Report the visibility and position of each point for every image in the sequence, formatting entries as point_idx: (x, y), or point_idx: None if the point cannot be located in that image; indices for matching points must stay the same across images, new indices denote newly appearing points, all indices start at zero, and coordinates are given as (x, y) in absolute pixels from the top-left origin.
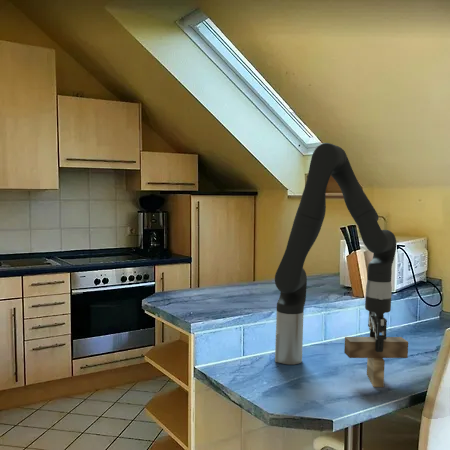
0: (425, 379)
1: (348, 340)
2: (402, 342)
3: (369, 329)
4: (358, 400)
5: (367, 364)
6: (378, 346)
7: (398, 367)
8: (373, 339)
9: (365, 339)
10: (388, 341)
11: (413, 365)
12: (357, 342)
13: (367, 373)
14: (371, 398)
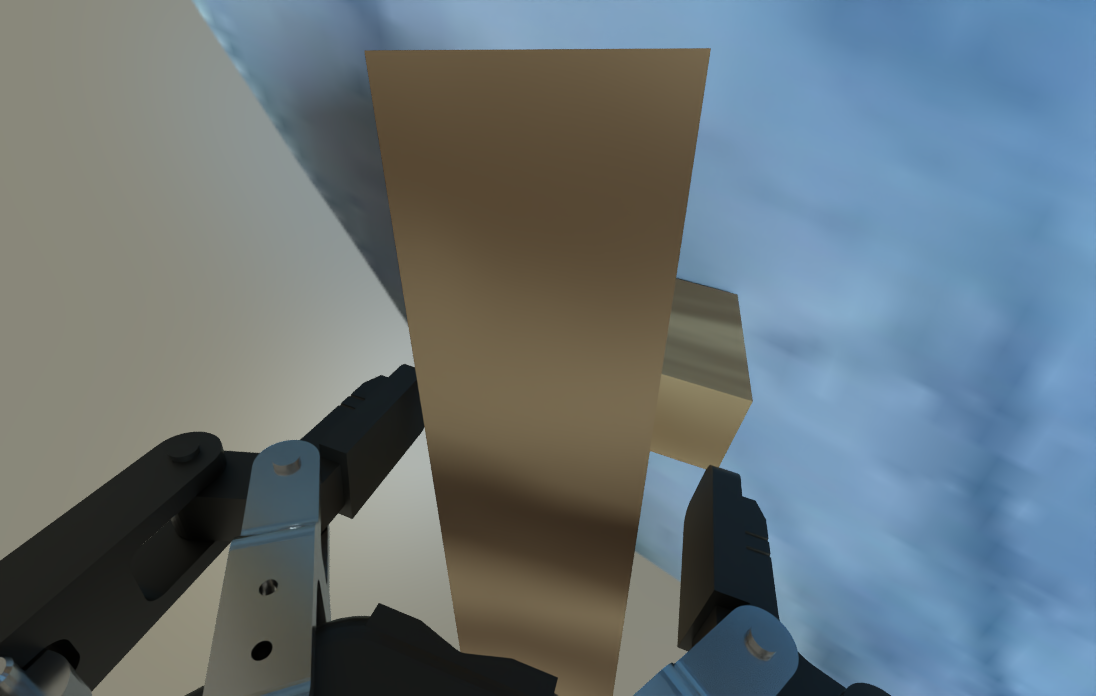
0: None
1: (462, 50)
2: (460, 636)
3: (756, 624)
4: (320, 43)
5: (729, 327)
6: (344, 406)
7: (821, 536)
8: (522, 474)
9: (518, 381)
10: (454, 561)
11: (826, 611)
12: (396, 200)
13: (713, 294)
14: (364, 148)
